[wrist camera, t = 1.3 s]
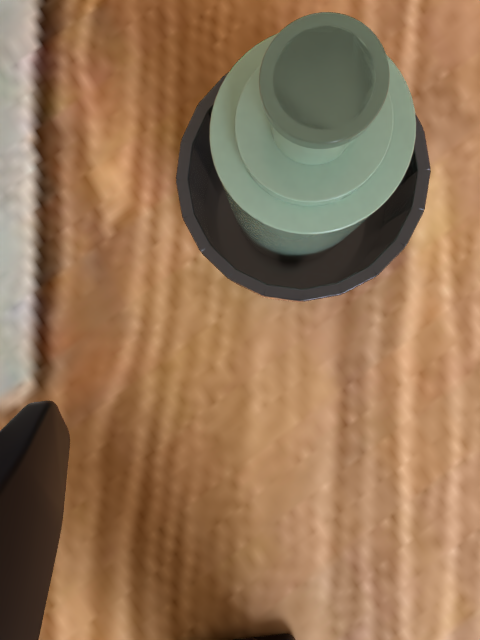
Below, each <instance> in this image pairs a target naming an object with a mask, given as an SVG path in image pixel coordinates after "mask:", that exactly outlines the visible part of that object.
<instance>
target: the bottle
mask: <svg viewBox="0 0 480 640" xmlns="http://www.w3.org/2000/svg"><path fill="white" fill-rule="evenodd" d="M209 139H210V148H211V154H212V159H213V163H214V166H215V169H216V171H217V174H218V176H219V179H220V181H221V184H222V186H223V189H224V191H225V194H226V196H227V199H228V201H229V203H230V206H231V208H232V211H233V213H234V216H235V218H236V221H237V223H238V226H239V228H240V230H241V232H242V233H243V235H244V237H245V238H246V239H247V241H248V242H249V243H250V244H251V245H252V246H253V247H254V248H255V249H257V250H258V251H259V252H261V253H262V254H264V255H266V256H268V257H270V258H272V259H275V260H279V261H283V262H305V261H309V260H313V259H315V258H318V257H320V256H322V255H324V254H326V253H327V252H329V251H330V250H332V249H333V248H334V247H335V246H336V245H338V244H339V243H340V242H341V241H342V240H343V239H344V238H346V237H347V236H348V235H349V234H350V233H351V232H352V231H354V230H355V229H356V228H357V227H358V226H359V225H360V224H362V223H363V222H364V221H365V220H366V219H367V218H368V217H370V216H371V215H372V214H373V213H374V212H375V211H376V210H378V209H379V208H380V207H381V206H382V205H383V204H384V203H385V202H386V201H387V200H388V199H389V198H390V196H391V195H392V194H393V193H394V191H395V190H396V189H397V187H398V186H399V184H400V182H401V181H402V179H403V178H404V175H405V173H406V171H407V169H408V167H409V164H410V161H411V158H412V154H413V151H414V145H415V139H416V117H415V109H414V104H413V100H412V96H411V93H410V91H409V88H408V86H407V83H406V81H405V80H404V78H403V76H402V74H401V72H400V71H399V69H398V68H397V67H396V65H395V64H394V63H393V61H392V60H391V59H390V58H389V57H388V56H387V55H386V53H385V51H384V48H383V46H382V44H381V43H380V41H379V39H378V38H377V37H376V35H375V34H374V33H373V32H372V31H371V30H370V29H369V28H368V27H367V26H366V25H364V24H363V23H362V22H360V21H358V20H356V19H355V18H352V17H350V16H347V15H344V14H340V13H333V12H321V13H314V14H310V15H307V16H304V17H302V18H299V19H297V20H295V21H294V22H292V23H290V24H289V25H288V26H286V27H285V28H284V29H282V30H281V31H280V32H279V33H278V34H276V35H273V36H271V37H269V38H267V39H265V40H264V41H262V42H260V43H259V44H257V45H256V46H254V47H253V48H252V49H250V50H249V51H248V52H247V53H245V54H244V56H243V57H242V58H241V59H240V60H239V61H238V62H237V63H236V64H235V65H234V66H233V68H232V69H231V70H230V72H229V73H228V74H227V76H226V78H225V79H224V81H223V83H222V85H221V86H220V89H219V91H218V94H217V96H216V98H215V102H214V105H213V109H212V113H211V120H210V134H209Z"/></svg>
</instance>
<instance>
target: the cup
mask: <svg viewBox="0 0 480 640" xmlns="http://www.w3.org/2000/svg"><path fill="white" fill-rule="evenodd" d="M227 74H228V73H227ZM227 74H226V75H224V76H223V77H222V78H221V79H220V81H219V82H218V83H217V84H216V85H215V86H214V87H213V88H212V89H211V90H210V92H209V93H208V94H207V95H206V96H205V97H204V98H203V99H202V100H201V101H200V103H199V104H198V105H197V107H196V109H195V111H194V114H193V116H192V118H191V120H190V122H189V124H188V127H187V129H186V131H185V133H184V135H183V137H182V141H181V144H180V152H179V159H178V167H177V175H176V184H177V190H178V195H179V201H180V206H181V212H182V217H183V220H184V222H185V224H186V225H187V227H188V229H189V231H190V233H191V235H192V237H193V239H194V241H195V242H196V244H197V246H198V248H199V250H200V251H201V253H202V254H203V255H204V256H205V257H206V258H207V259H208V260H209V261H210V262H211V263H212V264H213V265H214V266H215V267H216V268H217V269H218V270H219V271H221V272H222V273H223V274H224V275H225V276H226V277H227V278H228V279H230V280H231V281H233V282H234V283H236V284H238V285H240V286H242V287H244V288H246V289H248V290H250V291H252V292H254V293H256V294H258V295H260V296H262V297H265V298H270V299H277V300H285V301H292V302H303V301H309V300H315V299H321V298H326V297H332V296H338V295H341V294H344V293H346V292H348V291H350V290H352V289H354V288H355V287H357V286H359V285H361V284H363V283H365V282H367V281H369V280H371V279H373V278H374V277H376V276H377V275H379V274H380V273H381V272H382V271H383V270H384V269H385V268H386V267H387V266H388V265H389V264H390V263H391V262H392V261H393V260H394V259H395V258H396V257H397V256H398V254H399V253H400V252H401V251H402V250H403V249H404V248H405V247H406V246H407V244H408V242H409V240H410V238H411V236H412V234H413V232H414V230H415V228H416V226H417V224H418V222H419V220H420V218H421V216H422V214H423V212H424V209H425V204H426V197H427V191H428V185H429V178H430V172H431V171H430V163H429V157H428V151H427V145H426V139H425V132H424V130H423V127H422V125H421V123H420V121H419V119H418V117H417V116H416V114H415V117H416V139H415V145H414V151H413V154H412V158H411V161H410V164H409V167H408V169H407V171H406V173H405V175H404V178H403V179H402V181H401V182H400V184H399V186H398V187H397V189H396V190H395V191H394V193H393V194H392V195H391V196H390V198H389V199H388V200H387V201H386V202H385V203H384V204H383V205H382V206H381V207H380V208H379V209H378V210H376V211H375V212H374V213H373V214H372V215H371V216H370V217H368V218H367V219H366V220H365V221H364V222H363V223H362V224H360V225H359V226H358V227H357V228H356V229H355V230H354V231H352V232H351V233H350V234H349V235H348V236H347V237H346V238H344V239H343V240H342V241H341V242H340V243H339V244H338V245H336V246H335V247H334V248H333V249H332V250H330V251H329V252H327V253H326V254H324V255H322V256H320V257H318V258H315V259H313V260H309V261H305V262H283V261H279V260H275V259H272V258H270V257H268V256H266V255H264V254H262V253H261V252H259V251H258V250H257V249H255V248H254V247H253V246H252V245H251V244H250V243H249V242H248V241H247V239H246V238H245V237H244V235H243V233H242V232H241V230H240V228H239V226H238V223H237V221H236V218H235V216H234V213H233V211H232V208H231V206H230V203H229V201H228V199H227V196H226V194H225V191H224V189H223V186H222V184H221V181H220V179H219V176H218V174H217V171H216V169H215V166H214V163H213V159H212V154H211V148H210V139H209V134H210V120H211V113H212V109H213V105H214V102H215V98H216V96H217V94H218V91H219V89H220V86H221V85H222V83H223V81H224V79H225V78H226V76H227Z"/></svg>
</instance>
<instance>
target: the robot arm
mask: <svg viewBox="0 0 480 640" xmlns="http://www.w3.org/2000/svg"><path fill="white" fill-rule="evenodd" d="M69 448H70V435H69V431H68V428H67V426H66V424H65V422H64V420H63V418H62V416H61V414H60V412H59V409H58V407H57V405H56V404H55V403H54V402H53V401H41V402H34V403H30V404H28V405H26V406H25V407H24V408H23V409H22V410H21V411H20V412H19V413H18V414H17V415H16V416H15V417H14V418H13V419H12V420H11V421H10V422H9V423H8V424H7V425H6V426H5V427H4V428H3V429H2V430H1V431H0V640H38V639H39V634H40V629H41V625H42V620H43V615H44V610H45V605H46V601H47V596H48V591H49V586H50V581H51V577H52V572H53V567H54V562H55V557H56V553H57V548H58V543H59V538H60V533H61V527H62V520H63V512H64V501H65V491H66V480H67V469H68V458H69ZM234 640H295V639H294V637H293V636H292V635H289V634H278V635H270V636H262V637H253V638H252V637H251V638H243V639H234Z"/></svg>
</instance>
